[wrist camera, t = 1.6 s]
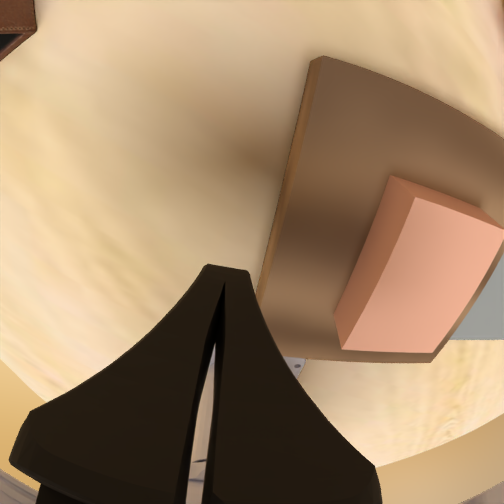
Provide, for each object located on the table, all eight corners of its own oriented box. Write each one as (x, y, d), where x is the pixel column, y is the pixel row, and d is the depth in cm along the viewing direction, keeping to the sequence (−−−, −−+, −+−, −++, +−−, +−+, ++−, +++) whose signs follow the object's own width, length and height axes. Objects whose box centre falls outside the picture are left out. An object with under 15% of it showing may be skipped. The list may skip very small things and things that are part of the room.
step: (418, 335, 21) (430, 362, 18) (249, 317, 20) (247, 352, 17) (509, 150, 13) (539, 166, 10) (310, 61, 12) (323, 55, 9)
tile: (418, 323, 16) (432, 352, 14) (333, 314, 16) (341, 349, 14) (479, 208, 12) (507, 231, 10) (389, 174, 11) (415, 196, 9)
